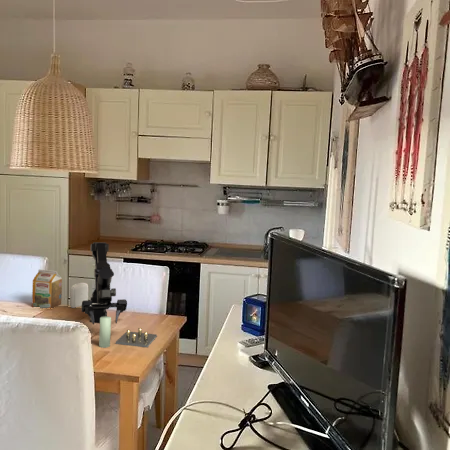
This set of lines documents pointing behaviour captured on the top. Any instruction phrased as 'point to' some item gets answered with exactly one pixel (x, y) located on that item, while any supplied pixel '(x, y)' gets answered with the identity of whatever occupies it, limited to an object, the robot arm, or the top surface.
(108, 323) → the mint green tapered post
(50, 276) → the milk carton
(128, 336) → the chassis plate
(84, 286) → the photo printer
